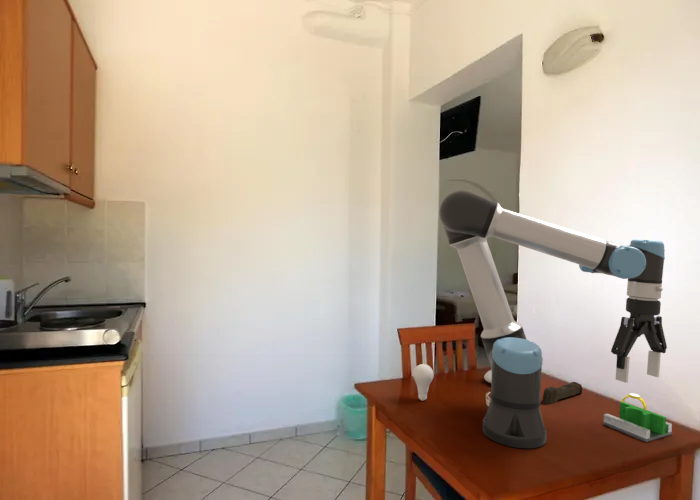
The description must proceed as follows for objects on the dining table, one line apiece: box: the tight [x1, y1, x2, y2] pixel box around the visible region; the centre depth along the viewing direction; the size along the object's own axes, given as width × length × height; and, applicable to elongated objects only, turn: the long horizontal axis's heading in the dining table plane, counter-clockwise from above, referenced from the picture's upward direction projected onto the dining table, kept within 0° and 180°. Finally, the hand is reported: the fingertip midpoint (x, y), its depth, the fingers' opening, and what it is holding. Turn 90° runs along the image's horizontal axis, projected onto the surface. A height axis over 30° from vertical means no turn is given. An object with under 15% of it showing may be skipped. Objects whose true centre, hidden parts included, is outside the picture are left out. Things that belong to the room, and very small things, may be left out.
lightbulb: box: [412, 363, 435, 401], centre depth 132 cm, size 6×6×11 cm
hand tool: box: [542, 381, 583, 405], centre depth 138 cm, size 19×4×5 cm, turn 122°
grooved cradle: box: [603, 413, 673, 443], centre depth 116 cm, size 11×11×3 cm
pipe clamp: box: [618, 401, 667, 435], centre depth 116 cm, size 11×4×5 cm, turn 25°
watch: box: [621, 392, 648, 411], centre depth 126 cm, size 6×3×6 cm, turn 42°
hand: (637, 378), depth 116 cm, fingers open, 13 cm apart
